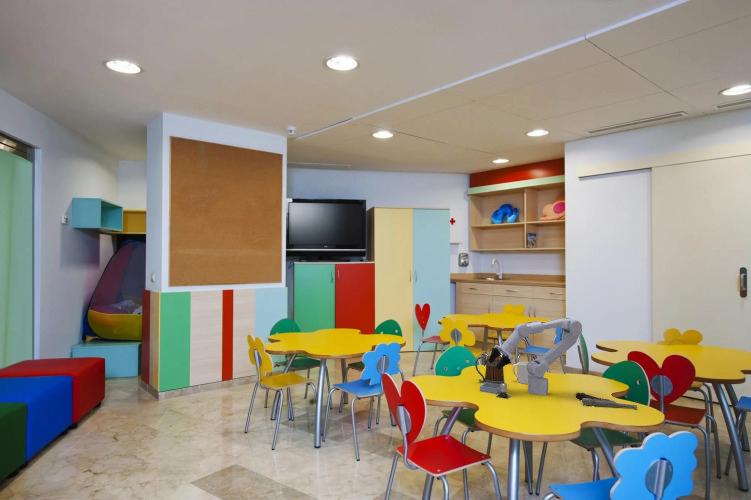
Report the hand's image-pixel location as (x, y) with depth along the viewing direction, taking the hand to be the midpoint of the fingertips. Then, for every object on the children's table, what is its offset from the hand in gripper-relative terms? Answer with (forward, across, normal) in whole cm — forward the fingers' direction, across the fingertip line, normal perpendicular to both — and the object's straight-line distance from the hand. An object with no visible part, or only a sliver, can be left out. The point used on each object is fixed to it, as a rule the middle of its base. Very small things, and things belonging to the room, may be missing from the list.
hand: (493, 365), depth 228 cm
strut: (+8, +11, +7) cm, 16 cm away
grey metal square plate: (+9, +11, +8) cm, 17 cm away
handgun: (-20, +28, +40) cm, 53 cm away
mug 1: (+9, -13, +17) cm, 23 cm away
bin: (+11, +1, +9) cm, 14 cm away
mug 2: (-4, -14, +34) cm, 37 cm away
